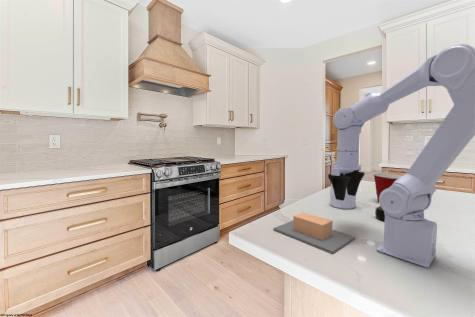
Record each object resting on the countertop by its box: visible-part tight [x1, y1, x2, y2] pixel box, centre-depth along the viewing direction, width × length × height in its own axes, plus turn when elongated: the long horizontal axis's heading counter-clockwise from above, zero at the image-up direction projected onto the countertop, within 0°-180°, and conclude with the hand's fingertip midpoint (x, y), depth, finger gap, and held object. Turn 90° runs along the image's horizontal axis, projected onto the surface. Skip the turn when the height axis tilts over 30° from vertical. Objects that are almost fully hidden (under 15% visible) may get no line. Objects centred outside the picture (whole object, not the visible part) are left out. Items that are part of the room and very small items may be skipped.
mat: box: [272, 220, 356, 255], centre depth 62 cm, size 18×12×1 cm, turn 40°
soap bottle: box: [329, 146, 357, 210], centre depth 88 cm, size 9×9×25 cm
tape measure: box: [374, 205, 385, 221], centre depth 74 cm, size 7×7×4 cm
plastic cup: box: [372, 172, 403, 203], centre depth 92 cm, size 11×11×12 cm
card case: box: [292, 211, 334, 240], centre depth 62 cm, size 5×9×4 cm, turn 40°
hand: (345, 197), depth 66 cm, fingers open, 7 cm apart
